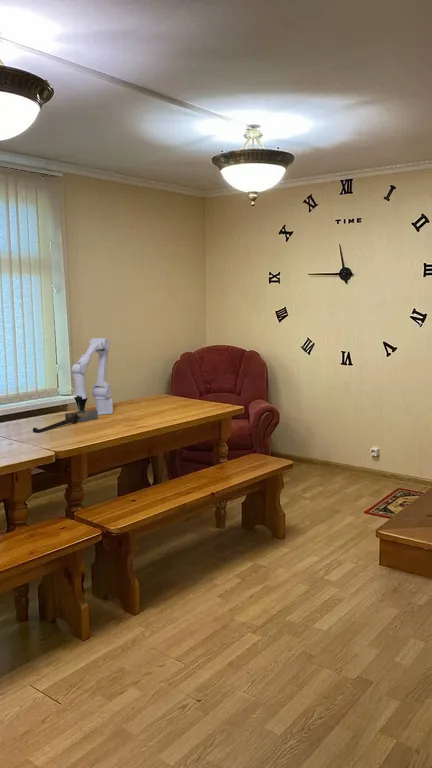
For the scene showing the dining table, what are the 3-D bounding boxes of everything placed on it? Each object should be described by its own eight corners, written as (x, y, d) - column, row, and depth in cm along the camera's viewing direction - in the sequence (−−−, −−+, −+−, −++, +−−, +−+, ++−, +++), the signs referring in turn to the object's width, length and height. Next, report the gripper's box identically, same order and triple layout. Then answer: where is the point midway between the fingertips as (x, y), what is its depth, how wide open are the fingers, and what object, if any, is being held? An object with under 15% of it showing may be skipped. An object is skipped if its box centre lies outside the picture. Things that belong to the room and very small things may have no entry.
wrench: (32, 435, 320) (75, 420, 344) (38, 436, 317) (82, 421, 342) (31, 425, 319) (74, 411, 343) (37, 427, 316) (81, 412, 340)
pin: (84, 414, 347) (83, 396, 346) (86, 415, 344) (84, 397, 342) (77, 415, 345) (76, 397, 344) (79, 416, 342) (78, 398, 341)
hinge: (96, 417, 352) (95, 409, 351) (99, 419, 347) (98, 410, 346) (64, 421, 344) (63, 412, 343) (67, 423, 339) (66, 414, 338)
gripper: (69, 384, 347) (70, 408, 349) (76, 388, 334) (77, 412, 336) (81, 383, 350) (83, 407, 352) (89, 386, 337) (90, 411, 339)
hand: (81, 410), depth 344 cm, fingers closed on pin, 3 cm apart
